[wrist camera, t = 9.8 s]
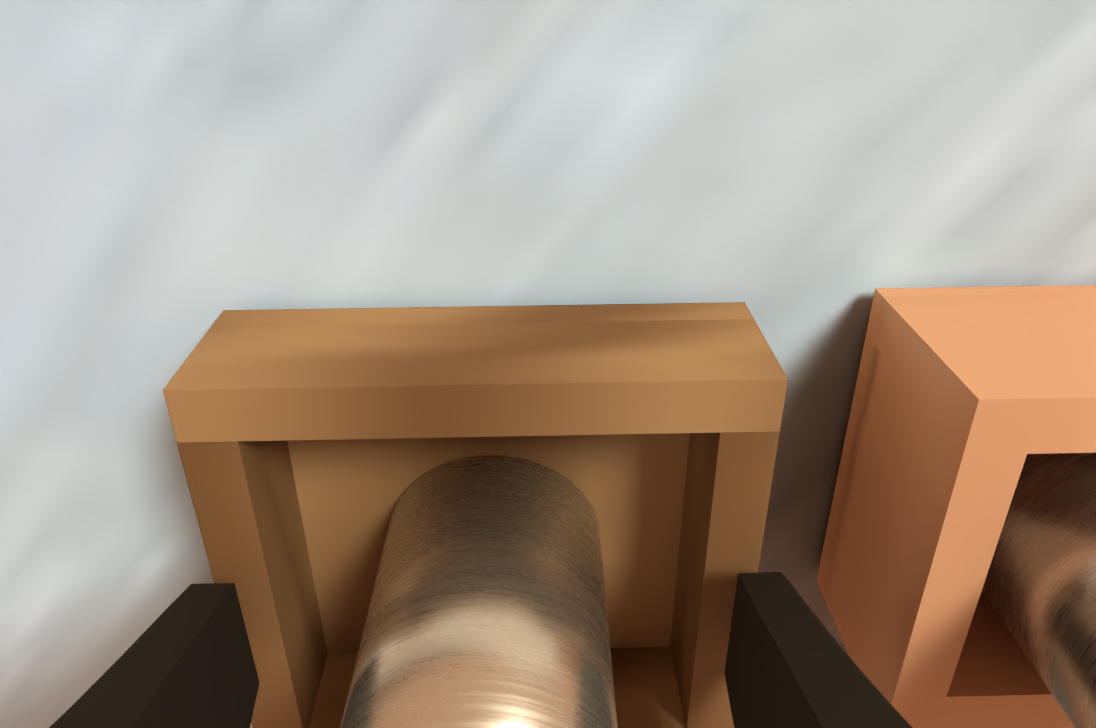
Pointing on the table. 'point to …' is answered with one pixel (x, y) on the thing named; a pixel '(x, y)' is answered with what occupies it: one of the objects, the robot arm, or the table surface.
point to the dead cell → (1052, 576)
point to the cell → (487, 606)
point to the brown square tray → (474, 430)
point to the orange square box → (951, 490)
